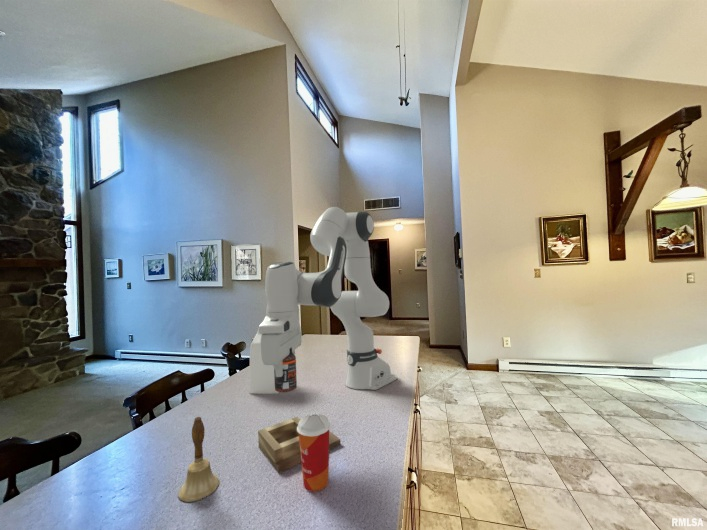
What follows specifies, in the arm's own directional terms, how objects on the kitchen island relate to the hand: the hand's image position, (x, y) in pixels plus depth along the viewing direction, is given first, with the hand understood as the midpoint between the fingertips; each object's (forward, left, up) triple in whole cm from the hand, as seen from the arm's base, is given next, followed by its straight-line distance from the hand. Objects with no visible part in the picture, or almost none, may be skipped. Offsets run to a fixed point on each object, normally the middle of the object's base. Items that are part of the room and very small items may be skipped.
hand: (285, 371), depth 83 cm
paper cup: (+1, +17, -21) cm, 27 cm away
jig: (-3, +1, -21) cm, 21 cm away
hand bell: (+22, +1, -21) cm, 31 cm away
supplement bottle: (0, 0, -5) cm, 5 cm away
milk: (-12, -46, -21) cm, 52 cm away
